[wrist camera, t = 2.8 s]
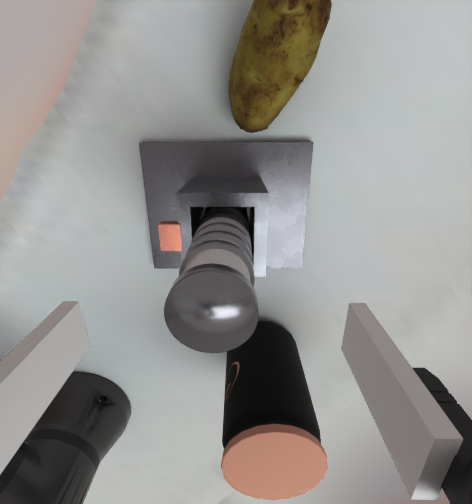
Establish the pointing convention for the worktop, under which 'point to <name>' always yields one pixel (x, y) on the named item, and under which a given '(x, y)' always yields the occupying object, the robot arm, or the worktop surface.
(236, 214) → the column
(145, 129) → the worktop surface
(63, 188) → the worktop surface
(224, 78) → the worktop surface
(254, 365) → the coffee jar
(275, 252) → the stand
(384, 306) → the worktop surface
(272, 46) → the potato
